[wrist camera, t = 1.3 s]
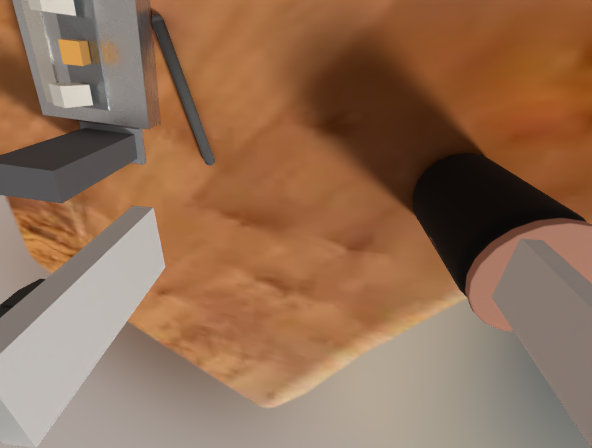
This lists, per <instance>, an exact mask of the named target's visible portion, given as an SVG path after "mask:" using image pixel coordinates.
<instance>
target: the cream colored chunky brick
mask: <svg viewBox="0 0 592 448" xmlns="http://www.w3.org/2000/svg"><path fill="white" fill-rule="evenodd" d="M28 3H29V7H30V9H31V10H37V11H44V12H51V13H58V14H65V15H73V16H76V11H75V6H74V1H73V0H28Z"/></svg>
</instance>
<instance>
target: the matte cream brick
mask: <svg viewBox="0 0 592 448" xmlns="http://www.w3.org/2000/svg"><path fill="white" fill-rule="evenodd" d="M49 88H50V92H51V96H52V100H53V104H54V105H55V106H59V107H63V108H70V107H80V106H90V105H93V102H92V96H91V91H90V86H89V85H87V84H83V83H50V84H49Z"/></svg>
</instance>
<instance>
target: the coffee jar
mask: <svg viewBox="0 0 592 448" xmlns="http://www.w3.org/2000/svg"><path fill="white" fill-rule="evenodd" d="M413 209H414V212H415V214H416V217H417V219H418V220H419V222H420V224H421V226H422V227H423V229H424V231H425V232H426V234H427V236H428V237H429V239H430V241H431V242H432V244H433V246H434V247H435V249H436V251H437V252H438V254H439V256H440V257H441V259H442V261H443V262H444V264H445V266H446V267H447V269H448V271H449V272H450V274H451V276H452V277H453V279H454V281H455V283H456V284H457V286H458V288H459V289H460V290H461V291H462V292H463V293H464V295H465V296H466V297H467V298H468V301H469V304H470V306H471V308H472V311H473V312H474V313H475V314H476V315H477V316H478V317H479V318H480V319H481V320H482V321H483V322H484V323H487V324H489V325H491V326H493V327H495V328H498V329H500V330H506V331H513V329H512V328H511V326H510V325H509V323H508V322H507V320H506V319H505V317H504V316H503V314H502V312H501V311H500V309H499V308H498V306H497V305H496V303H495V302H494V300H493V299H492V295H493V293H494V291H495V289H496V287H497V285H498V283H499V281H500V279H501V277H502V275H503V273H504V271H505V269H506V267H507V265H508V263H509V261H510V259H511V257H512V255H513V252H514V250H515V248H516V246H517V244H518V242H519V240H520V238H521V239H533V240H543V241H544V242H545V243H547V244H548V245H549V246H550V247H551V248H552V249H553V250H554V251H555V252H557V253H558V254H559V255H560V256H561V257H562V258H563V259H564V260H566V261H567V262H568V263H569V264H570V265H571V266H572V267H573V268H574V269H576V270H577V271H578V272H579V273H580V274H581V275H582V276H583V277H585V278H586V279H587V280H588V281H589V282H590V283H591V284H592V225H591V224H589V223H587V222H586V221H585V219H584V218H583V217H581V216H580V215H578V214H576V213H575V212H573V211H572V210H570V209H568V208H567V207H565V206H564V205H562V204H560V203H559V202H557V201H556V200H554V199H552V198H551V197H549V196H548V195H546V194H544V193H543V192H541V191H540V190H538V189H536V188H535V187H533V186H532V185H530V184H528V183H527V182H525V181H524V180H522V179H520V178H519V177H517V176H516V175H514V174H512V173H511V172H509V171H508V170H506V169H504V168H503V167H501V166H500V165H498V164H496V163H495V162H493V161H491V160H490V159H488V158H486V157H484V156H483V155H477V154H471V153H465V154H458V155H451V156H449V157H447V158H444V159H442V160H440V161H438V162H436V163H435V164H434V165H432V166H431V167H430V168H429V169H427V170H426V171H425V173H424V174H423V175H422V177H421V178H420V179H419V181H418V182H417V185H416V188H415V190H414V193H413ZM513 332H514V331H513Z"/></svg>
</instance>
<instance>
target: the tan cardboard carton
mask: <svg viewBox="0 0 592 448" xmlns="http://www.w3.org/2000/svg"><path fill="white" fill-rule="evenodd" d="M58 43H59V47H60V52H61V56H62V61H63V64H68V65H78V66H85V65H88V64H91V58H90V53H89V47H88V42H87V41H83V40H75V39H58Z"/></svg>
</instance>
